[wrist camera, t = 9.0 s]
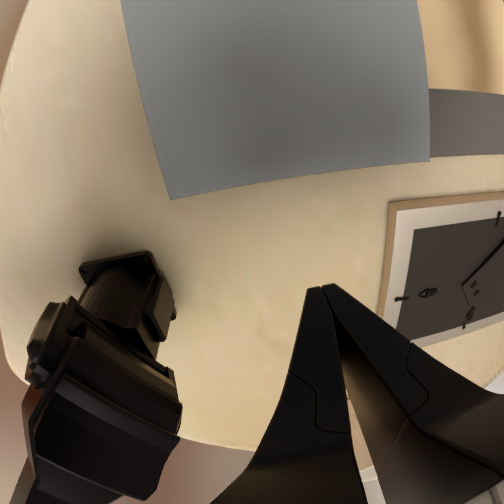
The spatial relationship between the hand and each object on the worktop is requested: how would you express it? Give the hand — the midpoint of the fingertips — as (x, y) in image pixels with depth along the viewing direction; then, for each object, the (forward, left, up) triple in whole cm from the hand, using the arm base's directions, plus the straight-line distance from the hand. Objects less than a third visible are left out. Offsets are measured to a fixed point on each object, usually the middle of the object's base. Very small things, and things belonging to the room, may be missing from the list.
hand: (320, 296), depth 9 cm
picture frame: (+18, -11, -13) cm, 24 cm away
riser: (+1, +9, -12) cm, 15 cm away
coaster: (+12, +9, -11) cm, 19 cm away
